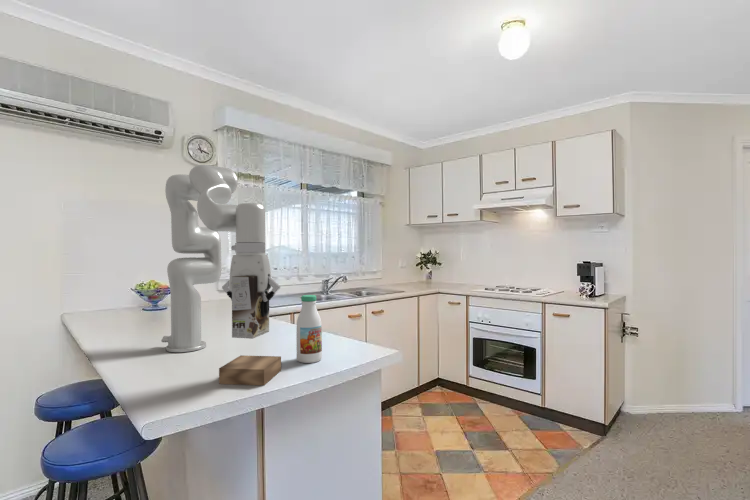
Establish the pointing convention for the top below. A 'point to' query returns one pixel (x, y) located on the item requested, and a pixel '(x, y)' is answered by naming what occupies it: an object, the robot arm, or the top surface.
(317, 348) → the milk bottle
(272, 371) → the plinth
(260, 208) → the robot arm
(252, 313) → the cookie box
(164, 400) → the top surface
